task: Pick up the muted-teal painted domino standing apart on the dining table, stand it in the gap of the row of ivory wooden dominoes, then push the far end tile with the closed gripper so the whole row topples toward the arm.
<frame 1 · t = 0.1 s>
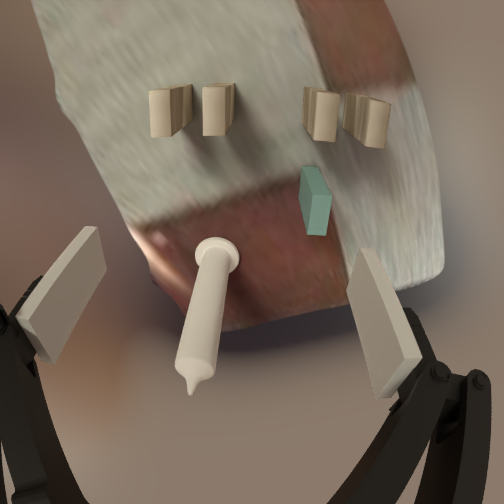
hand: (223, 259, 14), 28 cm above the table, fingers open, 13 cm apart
tile 4: (225, 101, 35), on the table
candle: (217, 254, 49), on the table
tile 5: (183, 102, 35), on the table
tile 2: (311, 105, 35), on the table
tile 1: (352, 110, 35), on the table
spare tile: (307, 183, 41), on the table
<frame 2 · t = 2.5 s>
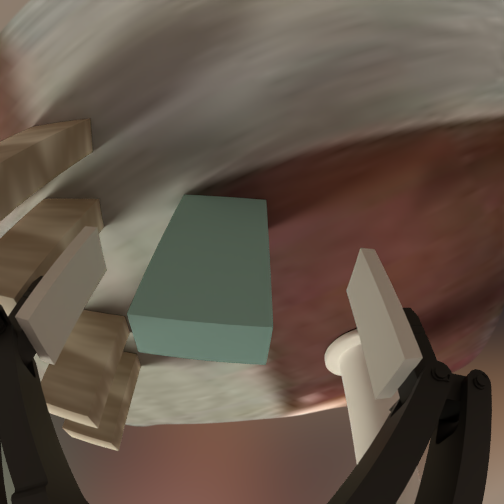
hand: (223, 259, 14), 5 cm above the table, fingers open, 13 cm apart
tile 4: (103, 320, 25), on the table
candle: (359, 348, 26), on the table
tile 5: (117, 356, 28), on the table
tile 2: (73, 211, 19), on the table, touching gripper
tile 1: (60, 138, 15), on the table
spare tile: (224, 213, 19), on the table
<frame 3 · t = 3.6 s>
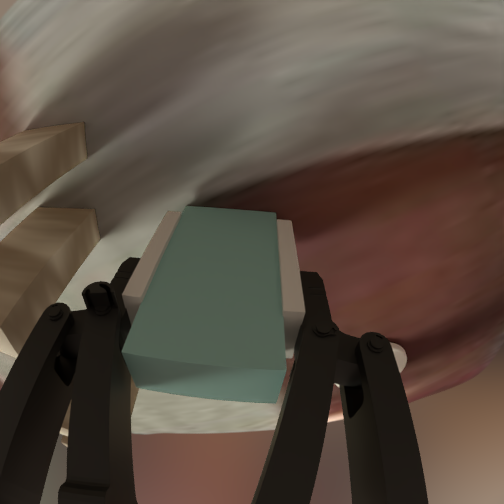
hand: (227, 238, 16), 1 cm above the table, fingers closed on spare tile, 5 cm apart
candle: (368, 363, 25), on the table
tile 2: (67, 222, 17), on the table
tile 1: (53, 143, 14), on the table
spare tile: (229, 226, 17), on the table, touching gripper
when the fingers open (2 cm above the table, at t = 9.1 s): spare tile stays where it is, on the table.
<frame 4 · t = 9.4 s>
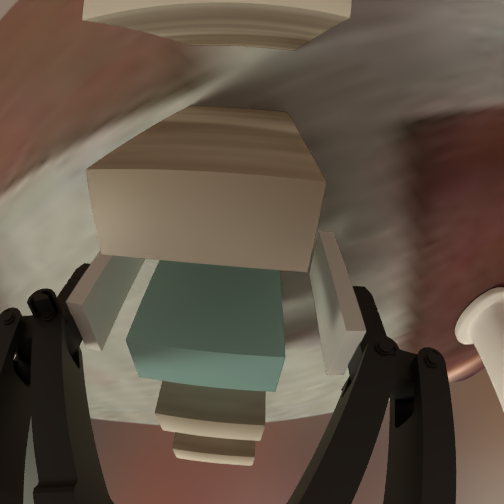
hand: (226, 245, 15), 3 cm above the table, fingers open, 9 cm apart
tile 4: (227, 292, 21), on the table
candle: (482, 313, 22), on the table
tile 5: (226, 342, 24), on the table
tile 2: (235, 128, 14), on the table
tile 1: (243, 26, 11), on the table
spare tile: (230, 222, 18), on the table
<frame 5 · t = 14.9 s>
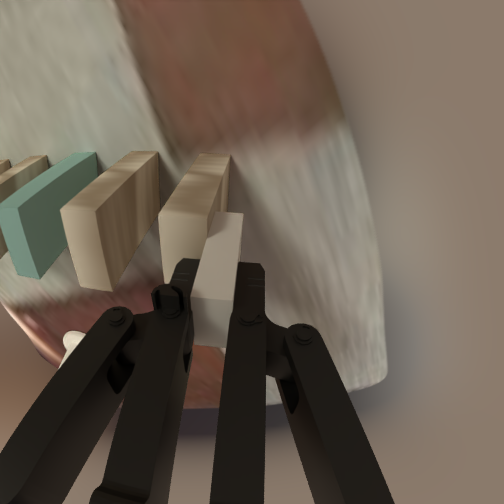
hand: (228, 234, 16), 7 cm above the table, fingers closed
tile 4: (42, 181, 22), on the table
candle: (86, 346, 36), on the table
tile 5: (6, 182, 22), on the table
tile 2: (146, 181, 22), on the table
tile 1: (214, 185, 22), on the table, touching gripper
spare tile: (88, 180, 22), on the table
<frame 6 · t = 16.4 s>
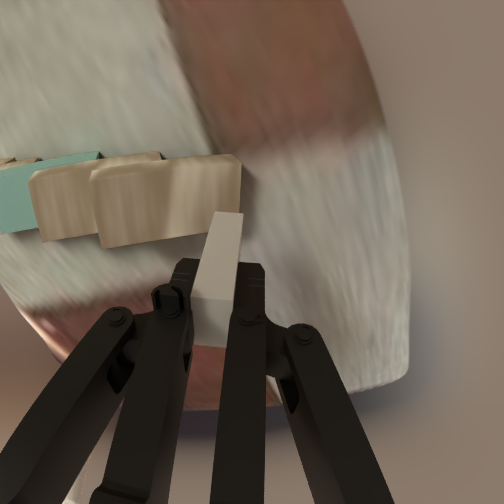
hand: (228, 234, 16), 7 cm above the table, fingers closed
candle: (108, 350, 36), on the table
tile 2: (161, 187, 22), point 1 cm above the table, tilted 66°, touching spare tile, tile 1
tile 1: (234, 190, 22), point 1 cm above the table, tilted 67°, touching tile 2
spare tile: (100, 184, 22), point 1 cm above the table, tilted 68°, touching tile 2
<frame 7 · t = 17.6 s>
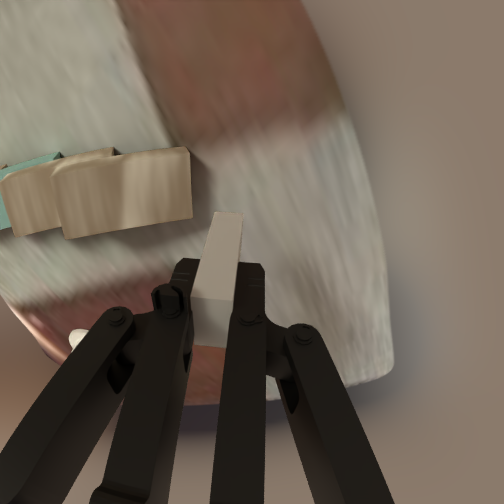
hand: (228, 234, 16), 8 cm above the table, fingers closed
tile 2: (116, 179, 22), point 1 cm above the table, tilted 68°, touching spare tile, tile 1
tile 1: (188, 181, 22), point 1 cm above the table, tilted 68°, touching tile 2
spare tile: (62, 181, 22), point 1 cm above the table, tilted 69°, touching tile 2
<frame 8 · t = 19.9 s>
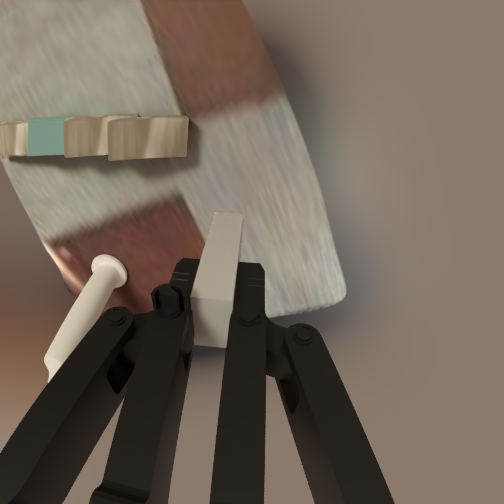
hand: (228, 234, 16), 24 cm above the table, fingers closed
tile 4: (41, 137, 33), point 3 cm above the table, tilted 90°, touching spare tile, tile 5
candle: (110, 269, 50), on the table
tile 2: (136, 133, 35), point 1 cm above the table, tilted 69°, touching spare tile, tile 1
tile 1: (186, 135, 36), point 1 cm above the table, tilted 71°, touching tile 2
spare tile: (93, 135, 35), point 1 cm above the table, tilted 67°, touching tile 2, tile 4
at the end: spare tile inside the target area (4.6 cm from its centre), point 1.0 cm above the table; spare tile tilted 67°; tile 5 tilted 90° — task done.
